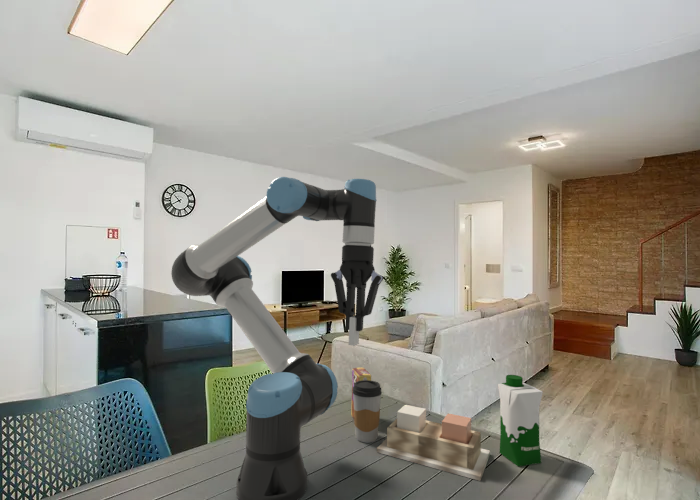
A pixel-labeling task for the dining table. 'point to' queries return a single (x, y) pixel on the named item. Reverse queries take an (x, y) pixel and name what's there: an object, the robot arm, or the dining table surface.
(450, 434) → the salmon pink block
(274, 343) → the robot arm
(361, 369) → the candy box
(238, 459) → the dining table surface
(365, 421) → the coffee cup
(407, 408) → the white block
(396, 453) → the housing
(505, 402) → the milk carton
